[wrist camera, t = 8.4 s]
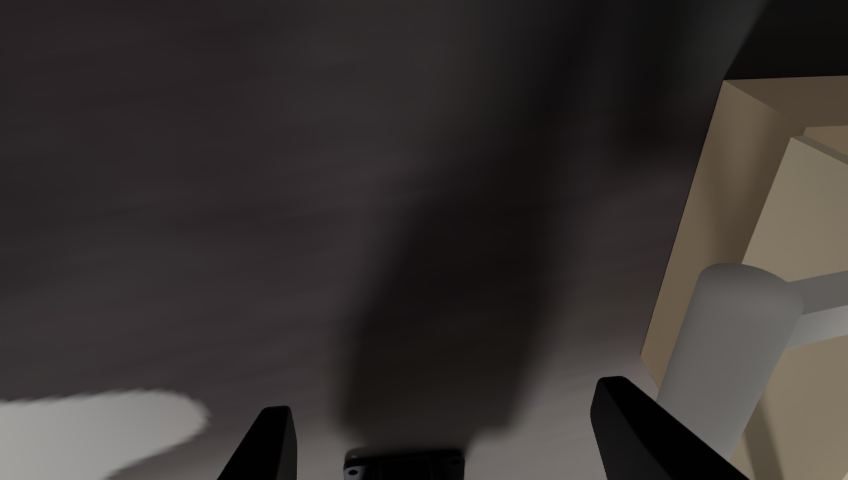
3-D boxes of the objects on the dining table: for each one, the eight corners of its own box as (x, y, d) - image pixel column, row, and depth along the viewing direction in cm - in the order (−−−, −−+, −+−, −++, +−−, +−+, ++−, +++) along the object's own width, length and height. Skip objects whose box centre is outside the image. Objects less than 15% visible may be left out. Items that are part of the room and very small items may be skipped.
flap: (794, 566, 19) (616, 626, 18) (685, 429, 24) (537, 467, 23) (1030, 243, 12) (758, 299, 10) (804, 135, 17) (594, 163, 15)
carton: (860, 337, 29) (943, 414, 25) (639, 356, 28) (689, 439, 24) (1019, 68, 21) (1177, 116, 17) (723, 80, 20) (817, 134, 16)
